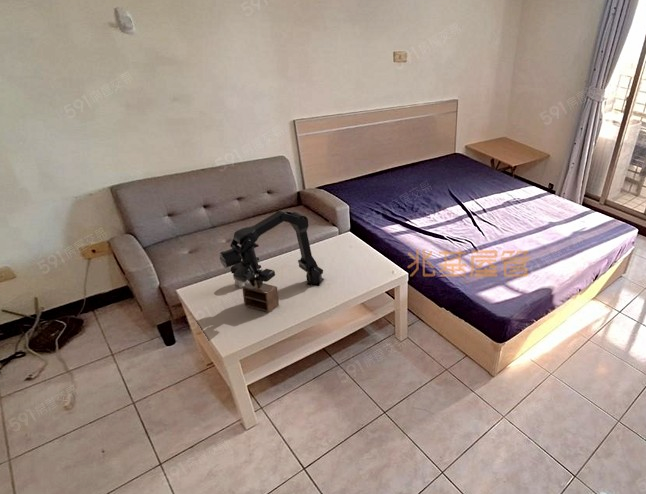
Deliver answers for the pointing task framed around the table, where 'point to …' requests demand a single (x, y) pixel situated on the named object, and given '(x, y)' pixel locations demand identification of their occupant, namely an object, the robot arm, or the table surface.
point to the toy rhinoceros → (240, 282)
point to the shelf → (260, 296)
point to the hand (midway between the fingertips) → (257, 286)
